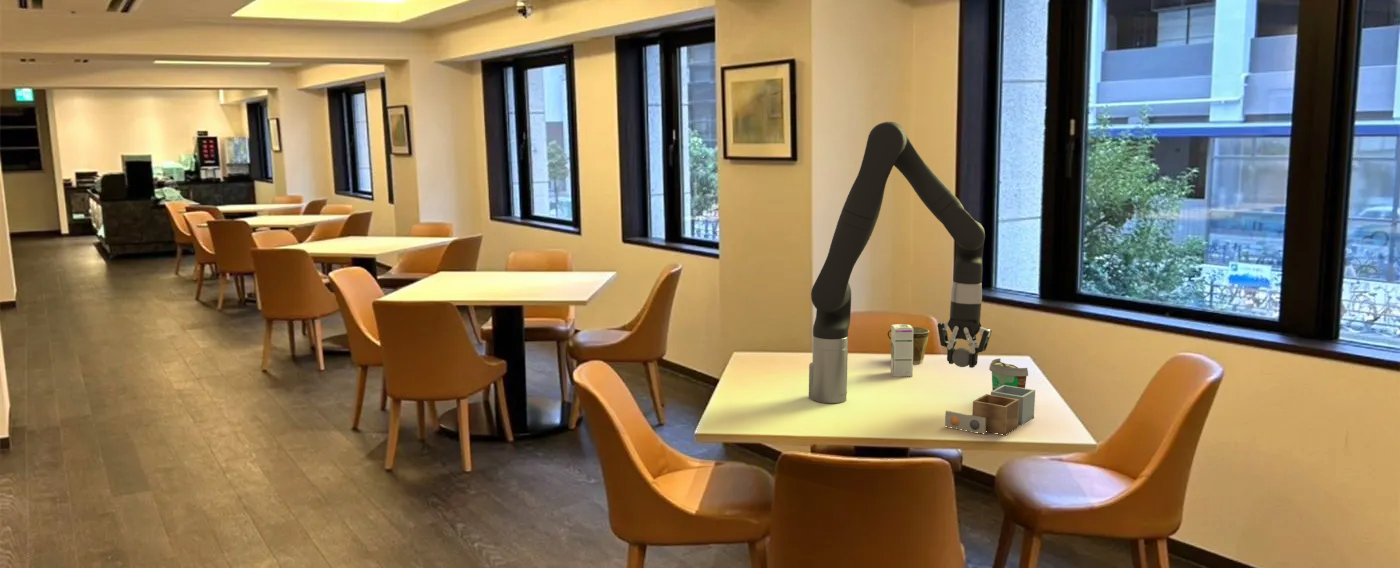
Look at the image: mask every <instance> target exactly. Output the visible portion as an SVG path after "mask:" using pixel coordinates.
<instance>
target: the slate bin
mask: <svg viewBox="0 0 1400 568" xmlns="http://www.w3.org/2000/svg"><path fill="white" fill-rule="evenodd" d="M990 395H995V396H1001V397H1007V398H1013V399H1019V412H1018V425H1020V424H1021V426H1022V424H1023V425H1024V424H1025V422H1026V423H1028V422H1029V421H1031V420H1032V419H1033V418H1035V407H1036V406H1035V403H1036V390H1035V389H1030V388H1026V387H1025V388H1019V387H1013V386H1007V385H1002V386H1001V387H999V388H997V389H995V390H993V391H992V390H991V391H990Z"/></svg>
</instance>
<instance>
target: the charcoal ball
mask: <svg viewBox="0 0 1400 568" xmlns="http://www.w3.org/2000/svg"><path fill="white" fill-rule="evenodd" d="M970 353H971V350H970V349H968V348H966V347H958V348H955V351H954V352H953V355H952V360H953V362H954V363H953V364H954V365H955V366H957V367H959V368H965V367H969V360H970Z"/></svg>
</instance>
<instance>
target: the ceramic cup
mask: <svg viewBox="0 0 1400 568" xmlns="http://www.w3.org/2000/svg"><path fill="white" fill-rule="evenodd" d="M911 327H912V328H913V365H920V364H922V363H923V362H924V358H925V353H926V349H927V344H928V339H929V335H930V330H929V329H927V328H924V327H917V326H911ZM890 333H891V329H890V330H888V332H887V337H888V338H889V339H890V340H891V335H890Z"/></svg>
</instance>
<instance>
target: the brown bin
mask: <svg viewBox="0 0 1400 568" xmlns="http://www.w3.org/2000/svg"><path fill="white" fill-rule="evenodd" d="M1018 412H1019V399H1013V398H1007V397H1001V396H995V395H991V394H988V393H986V394H984V395H982V396H981V397H980V396H979V397H978V398H977V399H974V400H973V401H972V414H971V415H973V416H979V417H984V418H986V431H987V432H986V433H988V432H992V433H991V434H993V433H998V434H1003V435H1005V436H1007V435H1008V434H1007V433H1009V432H1010V433H1012V432H1013V431H1014V429H1015V428H1016V429H1018V428H1017V427H1019V424H1018ZM1016 429H1015V430H1016ZM1012 430H1013V431H1012ZM1011 431H1012V432H1011ZM1010 433H1009V434H1010ZM998 434H997V435H998ZM1006 434H1007V435H1006ZM1003 435H1002V436H1003Z"/></svg>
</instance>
